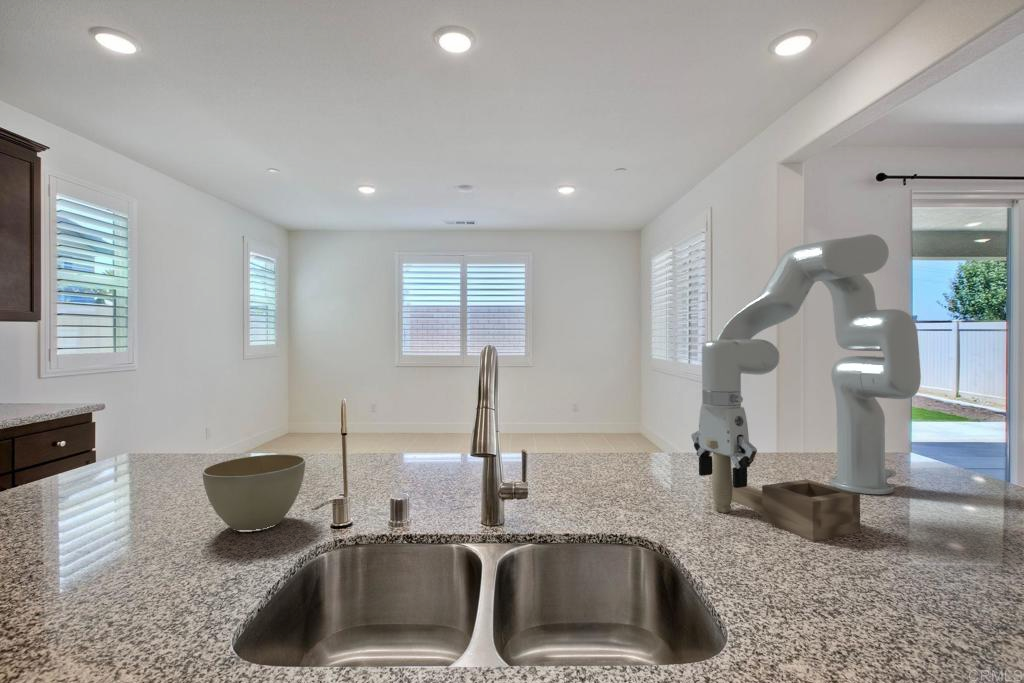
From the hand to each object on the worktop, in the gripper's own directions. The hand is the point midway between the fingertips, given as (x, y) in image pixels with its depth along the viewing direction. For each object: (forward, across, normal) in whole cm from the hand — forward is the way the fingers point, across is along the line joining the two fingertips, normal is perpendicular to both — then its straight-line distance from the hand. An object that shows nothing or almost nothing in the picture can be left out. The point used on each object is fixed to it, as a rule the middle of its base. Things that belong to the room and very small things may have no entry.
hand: (722, 480), depth 105 cm
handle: (+6, 0, 0) cm, 6 cm away
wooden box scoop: (+6, -7, -9) cm, 13 cm away
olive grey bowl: (+7, +27, +91) cm, 95 cm away
